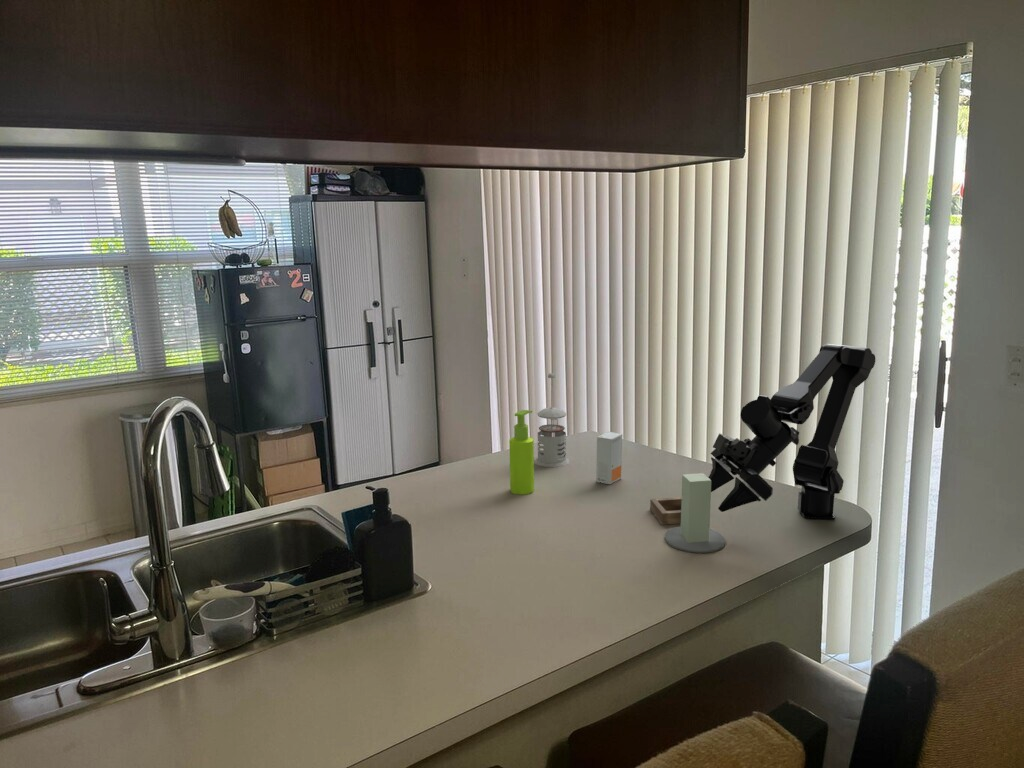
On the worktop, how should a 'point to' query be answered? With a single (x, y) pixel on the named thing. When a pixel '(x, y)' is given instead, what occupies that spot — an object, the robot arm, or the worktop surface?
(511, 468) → the soap dispenser
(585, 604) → the worktop surface
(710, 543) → the slate coaster
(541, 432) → the french press
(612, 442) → the skincare box
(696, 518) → the sage peg
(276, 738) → the worktop surface
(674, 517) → the walnut holder
